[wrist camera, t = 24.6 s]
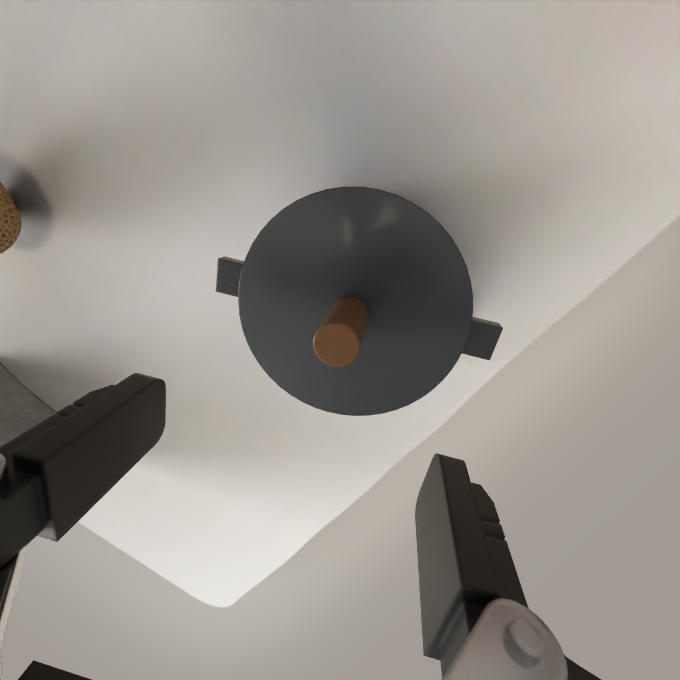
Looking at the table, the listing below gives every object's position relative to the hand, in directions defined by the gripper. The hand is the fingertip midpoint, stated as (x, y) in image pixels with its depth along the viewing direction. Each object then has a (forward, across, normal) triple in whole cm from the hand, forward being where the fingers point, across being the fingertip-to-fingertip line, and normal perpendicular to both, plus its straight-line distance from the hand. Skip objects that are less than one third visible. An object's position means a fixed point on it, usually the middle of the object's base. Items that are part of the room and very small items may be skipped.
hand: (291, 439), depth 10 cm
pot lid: (+14, 0, 0) cm, 14 cm away
